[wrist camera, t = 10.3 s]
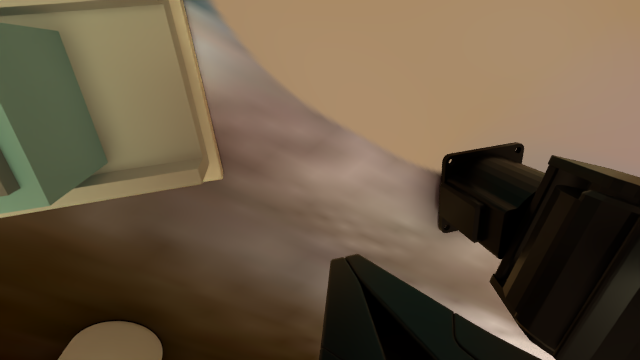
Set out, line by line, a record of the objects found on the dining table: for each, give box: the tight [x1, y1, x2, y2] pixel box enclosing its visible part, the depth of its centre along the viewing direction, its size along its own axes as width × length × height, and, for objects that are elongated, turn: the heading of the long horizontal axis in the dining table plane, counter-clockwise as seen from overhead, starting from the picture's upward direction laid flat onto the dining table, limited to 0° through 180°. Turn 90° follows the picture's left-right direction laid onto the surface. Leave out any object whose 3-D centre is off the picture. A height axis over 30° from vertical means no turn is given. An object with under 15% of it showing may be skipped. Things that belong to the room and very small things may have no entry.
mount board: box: [0, 0, 224, 218], centre depth 14 cm, size 14×11×4 cm
